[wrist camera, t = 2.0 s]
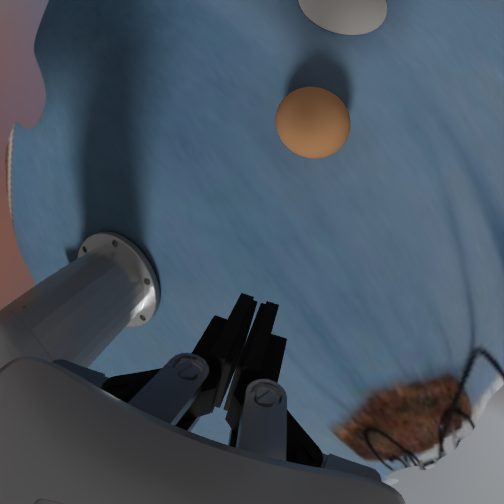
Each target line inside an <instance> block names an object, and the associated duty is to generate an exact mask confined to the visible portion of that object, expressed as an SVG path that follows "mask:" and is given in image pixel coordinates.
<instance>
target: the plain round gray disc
mask: <svg viewBox="0 0 504 504" xmlns="http://www.w3.org/2000/svg"><path fill="white" fill-rule="evenodd" d="M298 2H299V5H300V7H301V9H302V11H303V13H304V14H305V15H306V16H307V17H308V18H309V19H310V20H311V21H312V22H313V23H315V24H316V25H318V26H320V27H321V28H323V29H325V30H328V31H331V32H334V33H337V34H343V35H362V34H366V33H369V32H372V31H374V30H376V29H377V28H378V27H380V25H381V24H382V23H383V22H384V20H385V18H386V15H387V4H386V1H385V0H298Z"/></svg>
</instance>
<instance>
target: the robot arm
mask: <svg viewBox="0 0 504 504" xmlns="http://www.w3.org/2000/svg"><path fill="white" fill-rule="evenodd" d="M253 298H254V297H252V296H249V295H246V294H243V293H241V295H240V297H239V299H238V301H237V303H236V305H235V306H234V308H233V310H232V312H231V314H230V316H229V318H228V320H227V319H224V318H221V317H219V316H216V315H215V316H214V317H213V319H212V320H211V322H210V324H209V325H208V327H207V329H206V330H205V332H204V334H203V335H202V337H201V339H200V340H199V342H198V344H197V345H196V347H195V349H194V350H193V352H192V353H181V354H178V355H175V356H174V357H173V358H171V359H170V360H169V362H168V363H167V364H166V365H165V366H164V367H163V368H161V369H155V370H150V371H144V372H138V373H132V374H126V375H119V376H114V377H111V378H108V377H105V374H103V373H100V372H97V371H94V370H91V369H88V367H89V366H90V365H91V364H92V362H93V361H94V360H95V359H96V358H97V357H98V356H99V355H100V354H101V353H102V351H103V350H104V349H105V348H106V347H107V346H108V345H109V344H110V343H111V342H112V341H113V340H114V338H115V337H116V336H117V335H118V334H119V333H120V332H121V331H122V330H123V329H124V328H125V327H126V326H127V327H138V326H141V325H144V324H145V323H147V322H148V321H149V320H150V319H151V318H152V317H153V316H154V315H155V313H156V311H157V309H158V306H159V301H160V291H159V284H158V281H157V278H156V275H155V273H154V270H153V268H152V266H151V264H150V263H149V261H148V260H147V258H146V257H145V255H144V254H143V253H142V252H141V251H140V249H139V248H138V247H137V246H136V245H134V244H133V243H132V242H131V241H130V240H128V239H127V238H125V237H123V236H122V235H119V234H117V233H114V232H108V231H105V232H98V233H96V234H93V235H92V236H90V237H88V238H87V239H86V240H85V241H84V242H83V243H82V245H81V247H80V249H79V252H78V257H77V259H76V260H75V261H73V262H71V263H70V264H68V265H66V266H65V267H63V268H62V269H60V270H59V271H57V272H55V273H54V274H52V275H51V276H49V277H48V278H46V279H45V280H43V281H42V282H40V283H39V284H37V285H36V286H34V287H33V288H31V289H30V290H28V291H27V292H25V293H24V294H22V295H21V296H20V297H18V298H17V299H15V300H14V301H12V302H11V303H10V304H8V305H7V306H5V307H4V308H3V309H1V310H0V504H405V501H404V499H403V497H402V495H401V494H400V493H399V492H398V491H397V490H395V489H394V488H392V487H391V486H389V485H387V484H385V483H383V482H381V476H380V474H379V473H378V472H377V471H376V470H375V469H373V468H371V467H368V466H364V465H361V464H358V463H355V462H352V461H349V460H346V459H344V458H341V457H338V456H335V455H333V454H329V455H326V454H323V453H322V452H321V450H320V448H319V447H318V446H317V445H316V444H315V443H314V441H313V440H312V439H311V438H310V437H309V435H308V434H307V433H306V432H305V431H304V430H303V428H302V427H301V426H300V425H299V424H298V422H297V421H296V420H295V419H294V418H293V416H292V415H291V414H290V413H289V411H288V410H287V396H286V392H285V390H284V389H283V388H282V387H281V386H280V385H279V384H278V383H277V382H278V378H279V373H280V369H281V364H282V360H283V355H284V351H285V346H286V341H287V339H286V338H283V337H280V336H276V335H273V334H271V331H272V328H273V324H274V321H275V317H276V314H277V310H278V307H279V305H278V304H274V303H271V302H268V301H267V302H266V304H263V303H261V304H260V307H259V310H258V312H257V315H256V318H255V320H254V323H253V325H252V328H251V330H250V333H249V336H248V338H247V335H248V332H249V329H250V325H251V322H252V319H253V315H254V312H255V308H256V305H257V301H254V300H253ZM246 339H247V341H246ZM245 342H246V343H245ZM244 345H245V346H244ZM236 366H237V367H236ZM235 369H236V370H235ZM234 371H235V373H234ZM233 374H234V377H233V380H232V383H231V386H230V390H229V393H228V396H227V400H226V403H225V406H224V410H227V411H228V413H227V416H226V421H227V422H228V424H229V425H230V427H231V431H230V436H229V442H228V445H225V444H222V443H219V442H216V441H213V440H210V439H207V438H205V437H202V436H199V435H197V434H194V433H191V430H192V429H193V427H194V426H195V425H196V423H197V422H198V421H199V418H200V416H203V415H206V414H209V413H210V412H211V413H212V412H213V409H214V407H218V408H220V406H221V403H222V401H223V398H224V396H225V394H226V391H227V389H228V386H229V384H230V381H231V379H232V376H233Z"/></svg>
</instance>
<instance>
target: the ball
mask: <svg viewBox="0 0 504 504" xmlns="http://www.w3.org/2000/svg"><path fill="white" fill-rule="evenodd" d="M276 129H277V132H278V135H279V137H280V139H281V140H282V142H283V143H284V144H285V145H286V146H287V147H288V148H289V149H290V150H291V151H293V152H294V153H296V154H298V155H300V156H303V157H307V158H322V157H326V156H329V155H331V154H333V153H335V152H336V151H338V150H339V149H340V148H341V147H342V146H343V145H344V143H345V142H346V140H347V138H348V135H349V132H350V116H349V113H348V110H347V108H346V106H345V105H344V103H343V102H342V101H341V99H340V98H339V97H338V96H336V95H335V94H334V93H332V92H330V91H328V90H326V89H323V88H320V87H303V88H299V89H296V90H294V91H292V92H291V93H289V94H288V95H287V96H286V97H285V98H284V99H283V100H282V101H281V103H280V105H279V107H278V109H277V113H276Z"/></svg>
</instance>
